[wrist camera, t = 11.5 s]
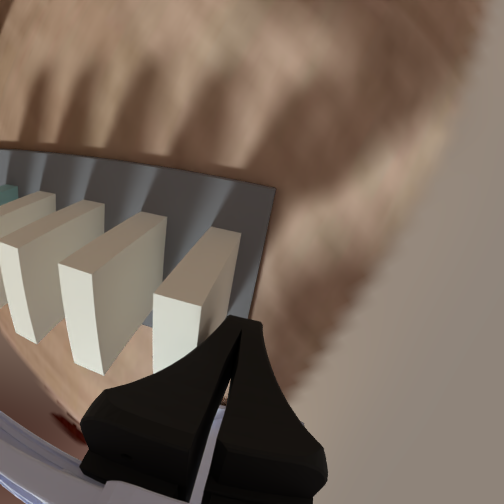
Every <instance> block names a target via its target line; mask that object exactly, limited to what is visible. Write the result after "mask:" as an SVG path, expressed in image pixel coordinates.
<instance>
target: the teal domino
mask: <svg viewBox="0 0 504 504" xmlns="http://www.w3.org/2000/svg"><path fill="white" fill-rule="evenodd" d="M16 199H18V186H13V185H7V184H5V185H2V186H0V206H1V205H3V204H6V203H8V202H11V201H13V200H16Z"/></svg>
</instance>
